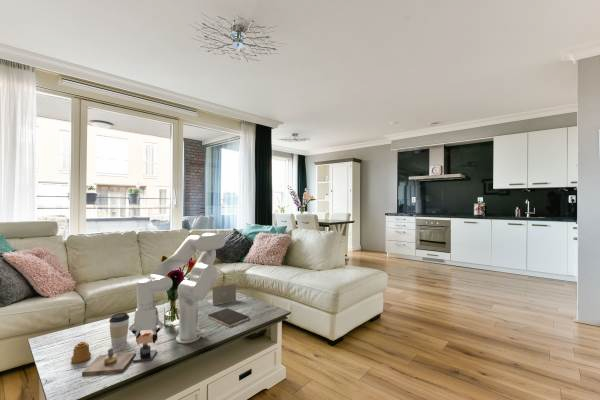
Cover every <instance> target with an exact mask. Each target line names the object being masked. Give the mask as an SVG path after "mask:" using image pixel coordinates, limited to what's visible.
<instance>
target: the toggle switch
mask: <svg viewBox="0 0 600 400" xmlns="http://www.w3.org/2000/svg"><path fill="white" fill-rule="evenodd" d="M136 355H137V352H126V353H125V352H124V353H114V349H113V348H111V347H110V348H108V350H107V354H99V355H98V356H97V357H96V358H95V359H94V360H93V361H92V362H91V363H90V364H88V366H87V367H86V368H85V369H84V370H82V371H81V376H82V377H85V376H95V375H108V374H119V373H123V372H124V371H125V370H126V369H127V368H128V366H129V365H130V364H131V363H132V362H133V359H134V358H135V357H136Z"/></svg>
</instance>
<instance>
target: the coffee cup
mask: <svg viewBox="0 0 600 400" xmlns="http://www.w3.org/2000/svg"><path fill="white" fill-rule="evenodd" d="M129 321H130V315H129V314H128V313H127V312H117V313H115V314H113V315H112V316H111V317H110V318H109V334H110V341H111V346H112V347H118V346H122V345H124V344H126V343H127V340H128V333H129V325H130V322H129Z"/></svg>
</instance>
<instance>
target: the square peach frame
mask: <svg viewBox="0 0 600 400" xmlns="http://www.w3.org/2000/svg"><path fill="white" fill-rule="evenodd" d="M140 333H141V335H140V336H139V337H138V338H137V342H136V345H137V344H138V345H140V344H142V345H143V343H148V344H151V343H153V334H154V333H153V331H152V330H151V331H142V332H140Z"/></svg>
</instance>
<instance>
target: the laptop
mask: <svg viewBox="0 0 600 400" xmlns="http://www.w3.org/2000/svg"><path fill="white" fill-rule="evenodd" d="M236 300H237V284H236V283H231V284H227V285H226V284H225V285H222V286H216V287H212V298H211V299H207V300H206V301H207V302H208V303H209V304H210V305H212V306H216V305H221V304H225V303H226V304H227V303H230V302H234V301H236Z"/></svg>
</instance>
